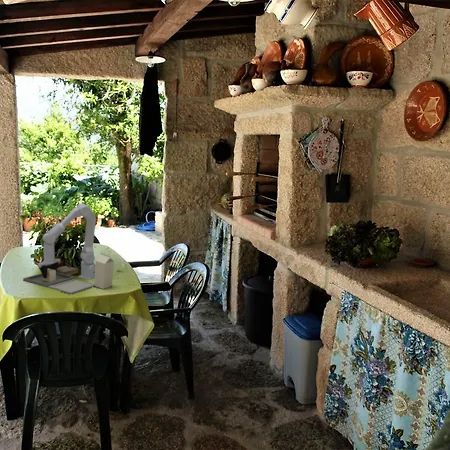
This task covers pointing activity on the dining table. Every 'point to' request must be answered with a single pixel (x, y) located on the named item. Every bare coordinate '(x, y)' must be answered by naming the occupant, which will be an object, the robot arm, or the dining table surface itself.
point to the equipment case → (60, 283)
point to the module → (50, 275)
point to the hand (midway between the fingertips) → (49, 276)
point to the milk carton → (103, 271)
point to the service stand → (67, 270)
